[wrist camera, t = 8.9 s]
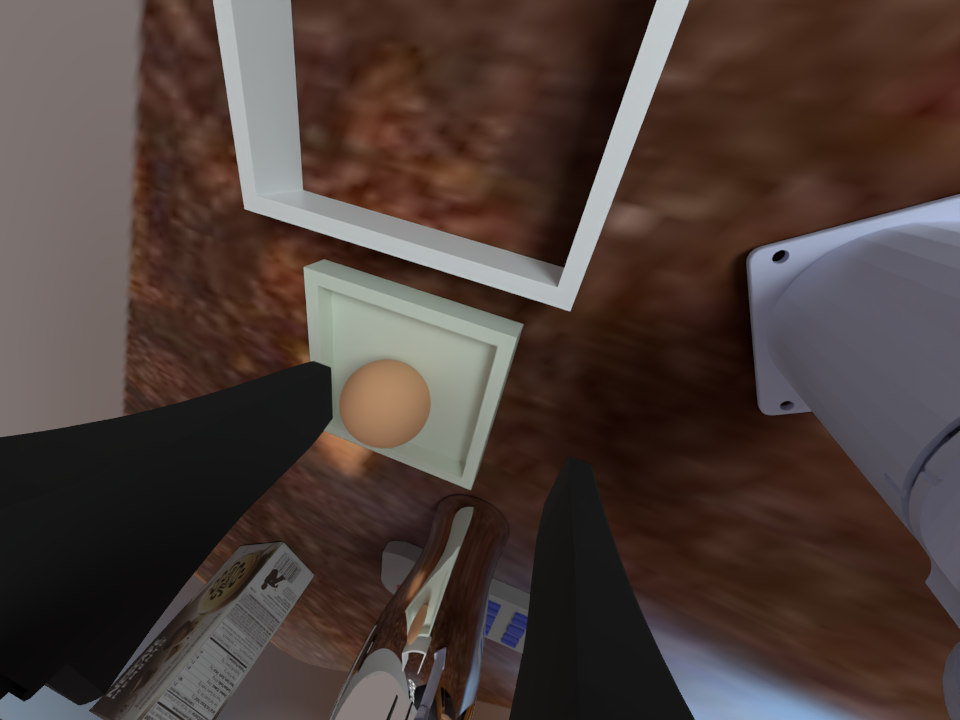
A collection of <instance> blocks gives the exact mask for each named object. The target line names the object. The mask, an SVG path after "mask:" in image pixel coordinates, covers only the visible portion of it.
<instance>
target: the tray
mask: <svg viewBox="0 0 960 720" xmlns="http://www.w3.org/2000/svg"><path fill="white" fill-rule="evenodd" d="M304 280H305V294H306V308H307V322H308V336H309V350H310V362H311V361H315V362H318V363H321V364H323V365H326V366H329V367H331V375H332V406H333V419H332V420H331V421H330V423H329V424H328V425H327V427H326V428H325V429H324V431H325V432H328V433H330V434H333V435H335V436H338V437H340V438H343V439H345V440H348V441H350V442H353V443H355V444H358V445H360V446H362V447H365V448H367V449H370V450H372V451H375V452H377V453H380V454H382V455H385V456H387V457H390V458H392V459H395V460H397V461H400V462H402V463H405V464H407V465H410V466H412V467H414V468H417V469H419V470H422V471H424V472H427V473H429V474H432V475H434V476H437V477H439V478H442V479H444V480H447V481H449V482H452V483H454V484H457V485H459V486H461V487H464V488H466V489H469V490H471V489H472V486H473V484H474V481H475V479H476V476H477V474H478V471H479V468H480V464H481V461H482V458H483V455H484V451H485V448H486V445H487V442H488V438H489V435H490V432H491V429H492V425H493V422H494V419H495V416H496V412H497V409H498V406H499V403H500V399H501V396H502V393H503V390H504V386H505V383H506V380H507V377H508V373H509V370H510V367H511V364H512V361H513V357H514V354H515V351H516V348H517V344H518V341H519V338H520V335H521V331H522V328H523V325H524V324H522V323H518V322H515V321H512V320H509V319H506V318H503V317H500V316H497V315H494V314H491V313H488V312H485V311H482V310H479V309H475V308H472V307H469V306H466V305H463V304H460V303H457V302H454V301H451V300H448V299H445V298H442V297H439V296H436V295H432V294H429V293H426V292H423V291H420V290H417V289H414V288H411V287H408V286H405V285H402V284H399V283H396V282H393V281H389V280H386V279H383V278H380V277H377V276H374V275H371V274H368V273H365V272H362V271H359V270H356V269H353V268H350V267H346V266H343V265H340V264H337V263H334V262H331V261H328V260H325V259H324V260H321V261H319V262H316V263H313V264H310V265H308V266H305V267H304ZM385 359H388V360H396V361H400V362H403V363H405V364H407V365H409V366H411V367H412V368H414V369H415V370H416V371H417V372H418V373H419V374H420V375H421V376H422V377H423V379H424V380H425V382H426V384H427V386H428V389H429V392H430V398H431V407H430V413H429V416H428V419H427V421H426V423H425V425H424V427H423V428H422V430H421V431H420V432H419V433H418V434H417V435H416V436H415V437H414V438H413V439H411V440H410V441H408V442H406V443H405V444H402V445H400V446H397V447H393V448H375V447H370V446H367V445H365V444H363V443H361V442H359V441H358V440H357V439H355V438H354V437H353V436H352V435H351V434H350V433H349V432H348V430H347V429H346V427H345V425H344V424H343V421H342V418H341V415H340V405H339V402H340V396H341V392H342V389H343V387H344V385H345V383H346V381H347V380H348V379H349V377H350V376H351V375H352V374H353V373H354V372H355V371H356V370H358V369H359V368H360V367H362V366H364V365H365V364H367V363H370V362H373V361H377V360H385Z"/></svg>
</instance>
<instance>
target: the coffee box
mask: <svg viewBox="0 0 960 720" xmlns="http://www.w3.org/2000/svg"><path fill="white" fill-rule="evenodd" d="M313 577H314V574H313V573H312V572H311V571H310V570H309V569H308V568H307V567H306V566H305V565H304V564H303V562H302V561H301V560H300V559H299V558H298V557H297V556H296V555H295V554H294V553H293V552H292V551H291V550H290V548H289V547H288V546H287V545H286V544H285V543H283V542H275V543H265V544H255V545H246V546H240V547H239V548H238V549H237V550H236V552H235V553H234V554H233V555H232V556H231V557H230V558H229V559H228V560H227V561H226V563H225V564H224V565H223V566H222V567H221V568H220V569H219V570H218V571H217V572H216V573H215V575H214V576H213V577H212V578H211V579H210V580H209V581H208V582H207V583H206V584H205V585H204V587H203V588H202V589H201V590H200V591H199V592H198V593H197V594H196V595H195V596H194V597H193V598H192V599H191V601H190V602H189V603H188V604H187V605H186V606H185V607H184V608H183V609H182V610H181V611H180V613H178V615H177V616H176V617H175V618H174V619H173V620H172V621H171V622H170V623H169V624H168V625H167V627H166V628H165V629H164V630H163V631H162V632H161V633H160V634H159V635H158V636H157V637H156V638H155V640H154V641H153V642H152V643H151V644H150V645H149V646H148V647H147V648H146V649H145V650H144V652H143V653H142V654H141V655H140V656H139V657H138V658H137V659H136V660H135V661H134V662H133V663H132V665H131V666H130V667H129V668H128V669H127V670H126V671H125V672H124V673H123V674H122V675H121V676H120V678H119V679H118V680H117V681H116V682H115V683H114V684H113V685H112V686H111V687H110V689H109V690H108V691H107V692H106V694H105V695H103V696H102V697H101V698H100V699H99V701H98V702H97V703H96V704H95V705H94V706H93V707H92V708H91V709H90V710H89V711H90V712H92V713H93V714H95V715H97V716H98V717H100V718H102V719H103V720H215V719H216V718H217V716H218V715H219V713H220V712H221V710H222V709H223V708H224V706H225V705H226V703H227V702H228V700H229V699H230V697H231V696H232V695H233V693H234V692H235V690H236V689H237V687H238V686H239V684H240V683H241V681H242V680H243V678H244V677H245V676H246V674H247V673H248V671H249V670H250V668H251V667H252V665H253V664H254V662H255V661H256V660H257V658H258V657H259V655H260V654H261V652H262V651H263V649H264V648H265V647H266V645H267V643H268V642H269V641H270V639H271V638H272V636H273V635H274V634H275V632H276V631H277V629H278V628H279V626H280V625H281V623H282V622H283V620H284V619H285V618H286V616H287V615H288V613H289V612H290V610H291V609H292V607H293V606H294V604H295V603H296V602H297V600H298V599H299V597H300V596H301V594H302V593H303V591H304V590H305V588H306V587H307V586H308V584H309V583H310V581H311V580H312V578H313Z"/></svg>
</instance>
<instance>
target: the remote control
mask: <svg viewBox="0 0 960 720" xmlns="http://www.w3.org/2000/svg"><path fill="white" fill-rule="evenodd" d="M422 550H423V549H422V548H419V547H417V546H415V545H412V544H410V543H408V542H402V541H392V542H388V544H387V546H386V547H385V549H384V551H383V556H382V572H381V581H382V582H383V584H384V586H385V587H386V589H387V590H389V591H390V592H391V593H392V594H393V595H394V594H395V592H396V591H397V589H398V588H399V586H400V585H401V584H402V582H403V581H404V579H405V578H406V576H407V575H408V573H409V572H410V570H411V569H412V567H413V566H414V564H415V563H416V561H417V559H418V558H419V556H420V554H421V552H422ZM529 601H530V594H528V593H526V592H523V591H521V590H519V589H516V588H514V587H512V586H509V585H507V584H505V583H502V582H500V581H497V580H495V579H493V578H492V582H491V587H490V592H489V600H488V609H487V619H486V630H485V637H486V638H489V639H491V640H493V641H495V642H497V643H500V644H502V645H504V646H506V647H509V648H511V649H513V650H515V651H517V652H520V653H522V654H523V648H524V641H525V634H526V627H527V618H528V610H529Z"/></svg>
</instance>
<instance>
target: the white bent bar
mask: <svg viewBox="0 0 960 720" xmlns="http://www.w3.org/2000/svg"><path fill="white" fill-rule="evenodd" d="M688 1H689V0H657V1H656V4H655V7H654V10H653V13H652V16H651V18H650V21H649V24H648V27H647V30H646V33H645V36H644V39H643V42H642V45H641V47H640V50H639V53H638V56H637V59H636V62H635V65H634V68H633V71H632V73H631V76H630V79H629V82H628V85H627V88H626V91H625V94H624V97H623V100H622V102H621V105H620V108H619V111H618V114H617V117H616V120H615V123H614V126H613V128H612V131H611V134H610V137H609V140H608V143H607V146H606V149H605V152H604V155H603V157H602V160H601V163H600V166H599V169H598V172H597V175H596V178H595V181H594V184H593V186H592V189H591V192H590V195H589V198H588V201H587V204H586V207H585V210H584V212H583V215H582V218H581V221H580V224H579V227H578V230H577V233H576V236H575V239H574V241H573V244H572V247H571V250H570V253H569V256H568V259H567V262H566V265H565V267H560V266H557V265H553V264H550V263H547V262H543V261H540V260H537V259H533V258H530V257H526V256H523V255H520V254H516V253H513V252H510V251H506V250H503V249H500V248H496V247H493V246H489V245H486V244H483V243H479V242H476V241H473V240H469V239H466V238H462V237H459V236H456V235H452V234H449V233H446V232H442V231H439V230H436V229H432V228H429V227H425V226H422V225H419V224H415V223H412V222H409V221H405V220H402V219H398V218H395V217H392V216H388V215H385V214H382V213H378V212H375V211H372V210H368V209H365V208H361V207H358V206H355V205H351V204H348V203H345V202H341V201H338V200H334V199H331V198H328V197H324V196H321V195H318V194H314V193H311V192H307V191H304V190H303V182H302V166H301V151H300V135H299V120H298V104H297V89H296V73H295V58H294V42H293V27H292V11H291V0H213V4H214V11H215V17H216V24H217V30H218V37H219V44H220V50H221V57H222V63H223V70H224V77H225V83H226V90H227V96H228V103H229V110H230V116H231V123H232V129H233V136H234V143H235V149H236V156H237V162H238V169H239V176H240V182H241V189H242V195H243V202H244V208H245V209H246V210H249V211H252V212H255V213H258V214H262V215H265V216H268V217H271V218H274V219H278V220H281V221H284V222H287V223H290V224H294V225H297V226H300V227H303V228H306V229H309V230H313V231H316V232H319V233H322V234H325V235H329V236H332V237H335V238H338V239H341V240H344V241H348V242H351V243H354V244H357V245H360V246H364V247H367V248H370V249H373V250H376V251H379V252H383V253H386V254H389V255H392V256H395V257H399V258H402V259H405V260H408V261H411V262H415V263H418V264H421V265H424V266H427V267H430V268H434V269H437V270H440V271H443V272H446V273H450V274H453V275H456V276H459V277H462V278H465V279H469V280H472V281H475V282H478V283H481V284H485V285H488V286H491V287H494V288H497V289H500V290H504V291H507V292H510V293H513V294H516V295H520V296H523V297H526V298H529V299H532V300H536V301H539V302H542V303H545V304H548V305H551V306H555V307H558V308H561V309H564V310H567V311H571V308H572V306H573V303H574V300H575V298H576V295H577V292H578V290H579V287H580V285H581V282H582V279H583V277H584V274H585V271H586V269H587V266H588V264H589V261H590V258H591V256H592V253H593V250H594V248H595V245H596V243H597V240H598V237H599V235H600V232H601V229H602V227H603V224H604V222H605V219H606V216H607V214H608V211H609V209H610V206H611V203H612V201H613V198H614V195H615V193H616V190H617V188H618V185H619V182H620V180H621V177H622V174H623V172H624V169H625V167H626V164H627V161H628V159H629V156H630V153H631V151H632V148H633V146H634V143H635V140H636V138H637V135H638V132H639V130H640V127H641V125H642V122H643V119H644V117H645V114H646V112H647V109H648V106H649V104H650V101H651V98H652V96H653V93H654V91H655V88H656V85H657V83H658V80H659V77H660V75H661V72H662V70H663V67H664V64H665V62H666V59H667V56H668V54H669V51H670V49H671V46H672V43H673V41H674V38H675V35H676V33H677V30H678V28H679V25H680V22H681V20H682V17H683V14H684V12H685V9H686V7H687V4H688Z"/></svg>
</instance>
